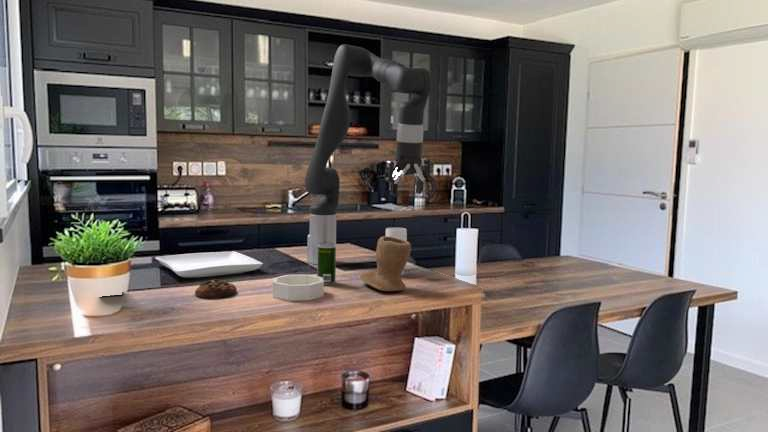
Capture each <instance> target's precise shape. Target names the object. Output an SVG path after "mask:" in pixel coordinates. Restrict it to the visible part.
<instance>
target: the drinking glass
mask: <svg viewBox="0 0 768 432" xmlns="http://www.w3.org/2000/svg"><path fill="white" fill-rule="evenodd" d="M407 231H408V230H407V228H404V227H386V228H385V236H388V237H394V238H397V239H402V240H405V241H407V240H408V239H407V238H408V236H407V235H408V233H407ZM404 273H405V271H404V270H403V272H402V276H404Z"/></svg>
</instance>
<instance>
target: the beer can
mask: <svg viewBox="0 0 768 432" xmlns="http://www.w3.org/2000/svg"><path fill="white" fill-rule="evenodd" d="M318 244H319V245H318V259H317V264H316V265H317V266H316V267H317V268H316V269H317V271H316V276H318V277H322V278H323V281H324V286H331V285H335V283H336V277H337V275H336V274H337V273H336V272H337V271H336V268H337V267H336V265H337V262H336V261H337V260H336V259H337V245H336V246H335V243H333V242H320V243H318Z"/></svg>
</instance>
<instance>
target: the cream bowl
mask: <svg viewBox="0 0 768 432" xmlns="http://www.w3.org/2000/svg"><path fill="white" fill-rule="evenodd" d="M324 286H325V285H324V281H323V278H322V277H318V276H317V275H314V274H285V275H281V276H277V277H276V276H275V277H273V279H272V298H275V299H280V300H283V301H287V302H288V301H289V302H293V301H311V300H316V299H319V298H321V297H324V295H325V294H324Z"/></svg>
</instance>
